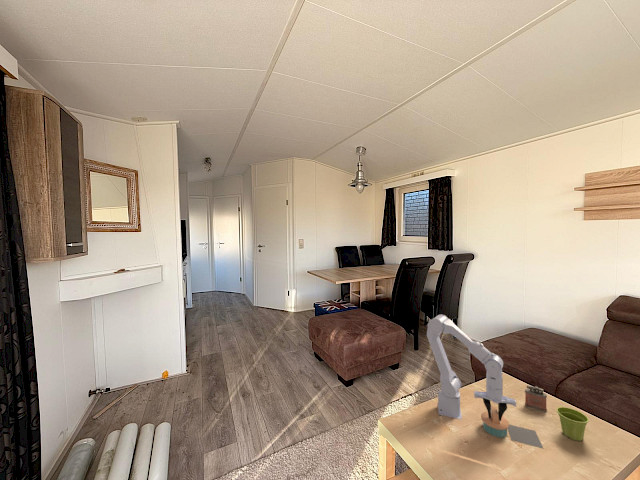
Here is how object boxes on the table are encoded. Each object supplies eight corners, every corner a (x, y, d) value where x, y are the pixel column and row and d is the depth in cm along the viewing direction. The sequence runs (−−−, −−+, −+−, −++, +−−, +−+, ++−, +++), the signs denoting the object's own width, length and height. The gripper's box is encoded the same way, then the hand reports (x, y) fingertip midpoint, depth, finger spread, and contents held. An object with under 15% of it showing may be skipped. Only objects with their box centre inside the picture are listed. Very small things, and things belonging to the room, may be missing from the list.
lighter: (546, 408, 122) (546, 387, 122) (547, 413, 119) (547, 391, 119) (524, 403, 127) (524, 382, 127) (525, 407, 124) (525, 386, 124)
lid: (482, 425, 107) (482, 414, 107) (479, 411, 115) (479, 400, 115) (511, 432, 103) (511, 420, 103) (506, 417, 111) (505, 406, 111)
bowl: (484, 434, 107) (484, 424, 107) (482, 422, 114) (482, 412, 114) (508, 440, 104) (508, 430, 104) (504, 427, 111) (504, 418, 111)
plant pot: (563, 441, 103) (563, 419, 103) (552, 424, 112) (552, 404, 112) (594, 447, 100) (594, 424, 100) (580, 430, 109) (580, 409, 109)
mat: (511, 441, 103) (511, 440, 103) (506, 425, 112) (506, 423, 112) (543, 450, 99) (543, 448, 99) (535, 432, 108) (535, 430, 108)
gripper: (475, 386, 108) (475, 419, 108) (518, 395, 102) (518, 429, 102) (473, 378, 115) (473, 409, 115) (513, 386, 108) (514, 418, 109)
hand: (494, 418), depth 109 cm, fingers open, 3 cm apart
